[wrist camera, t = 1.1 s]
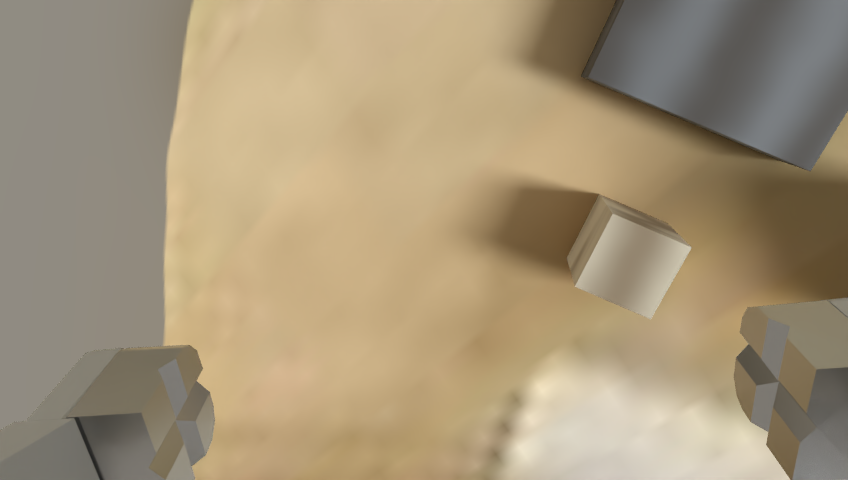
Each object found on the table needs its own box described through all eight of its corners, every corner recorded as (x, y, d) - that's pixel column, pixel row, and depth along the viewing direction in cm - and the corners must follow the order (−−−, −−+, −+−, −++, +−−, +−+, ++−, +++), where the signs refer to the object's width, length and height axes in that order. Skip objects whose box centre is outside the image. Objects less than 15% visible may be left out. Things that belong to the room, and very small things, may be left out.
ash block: (667, 222, 42) (691, 247, 36) (632, 285, 43) (650, 319, 37) (599, 193, 42) (612, 213, 36) (566, 257, 43) (574, 286, 38)
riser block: (914, -62, 35) (962, -78, 32) (781, 161, 40) (810, 171, 36) (688, -155, 36) (710, -182, 32) (580, 76, 40) (588, 77, 36)
